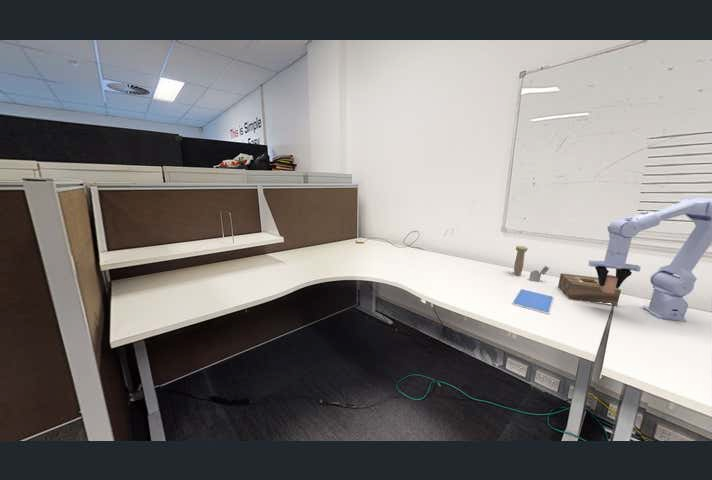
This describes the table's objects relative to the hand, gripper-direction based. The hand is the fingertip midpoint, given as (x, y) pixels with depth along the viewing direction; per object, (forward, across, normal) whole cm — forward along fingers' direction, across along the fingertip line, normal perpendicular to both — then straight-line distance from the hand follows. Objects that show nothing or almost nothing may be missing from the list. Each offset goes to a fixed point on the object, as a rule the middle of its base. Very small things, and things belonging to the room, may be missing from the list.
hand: (608, 286), depth 101 cm
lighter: (+10, -16, +25) cm, 31 cm away
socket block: (+10, -1, +13) cm, 16 cm away
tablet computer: (+10, -24, -3) cm, 26 cm away
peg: (+2, 0, 0) cm, 2 cm away
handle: (+10, -24, +31) cm, 40 cm away
